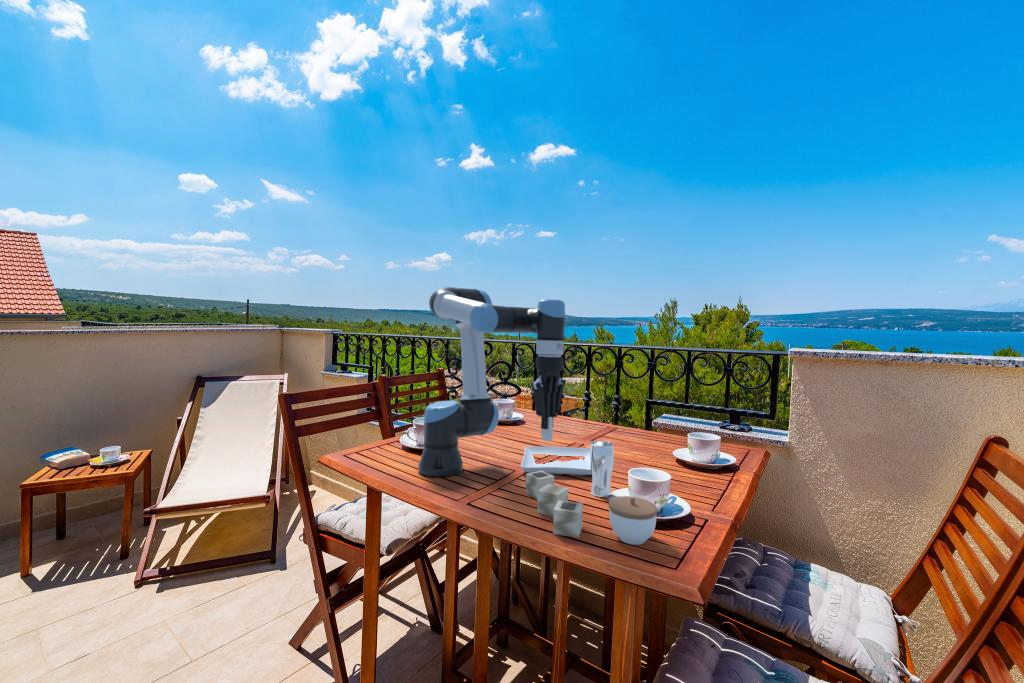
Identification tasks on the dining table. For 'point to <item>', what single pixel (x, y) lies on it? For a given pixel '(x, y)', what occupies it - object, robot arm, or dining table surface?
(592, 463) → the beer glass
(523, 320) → the robot arm
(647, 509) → the lidded jar
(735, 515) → the dining table surface
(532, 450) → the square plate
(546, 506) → the plain block
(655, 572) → the dining table surface
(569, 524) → the marked block
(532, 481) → the marked block
